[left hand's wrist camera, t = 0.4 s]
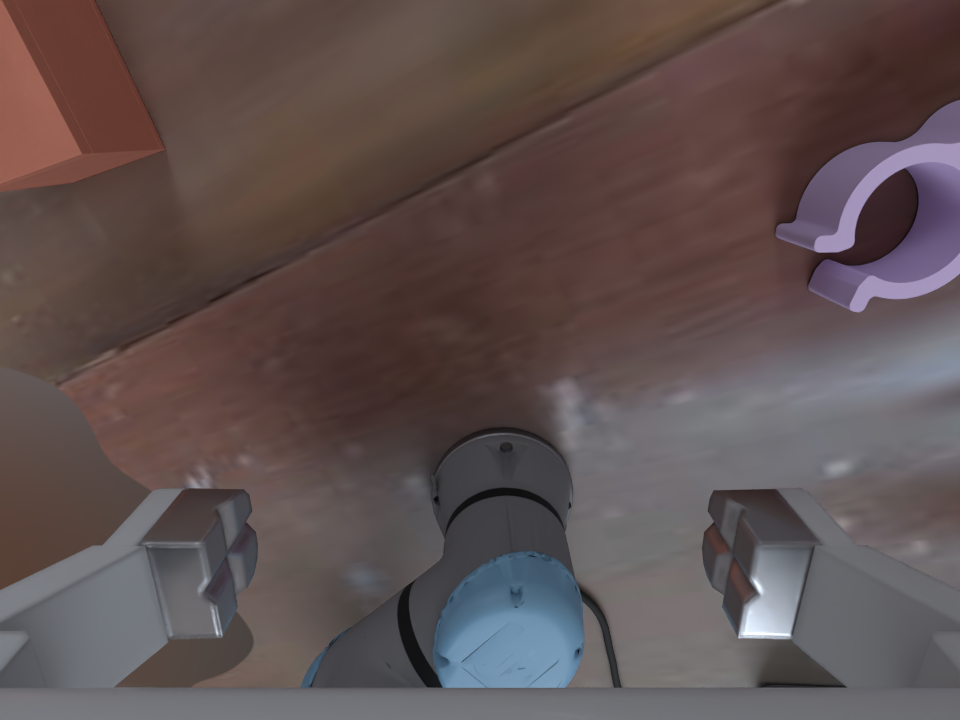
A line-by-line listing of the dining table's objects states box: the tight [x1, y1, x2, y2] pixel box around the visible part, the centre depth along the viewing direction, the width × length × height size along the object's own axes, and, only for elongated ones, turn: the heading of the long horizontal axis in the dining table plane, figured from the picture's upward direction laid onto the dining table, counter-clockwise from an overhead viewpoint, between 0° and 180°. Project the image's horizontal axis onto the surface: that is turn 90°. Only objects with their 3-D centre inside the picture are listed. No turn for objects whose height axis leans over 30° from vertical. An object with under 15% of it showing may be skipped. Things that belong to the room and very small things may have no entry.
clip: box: [775, 100, 960, 312], centre depth 51 cm, size 20×12×7 cm, turn 129°
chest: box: [0, 0, 165, 192], centre depth 47 cm, size 13×10×11 cm
